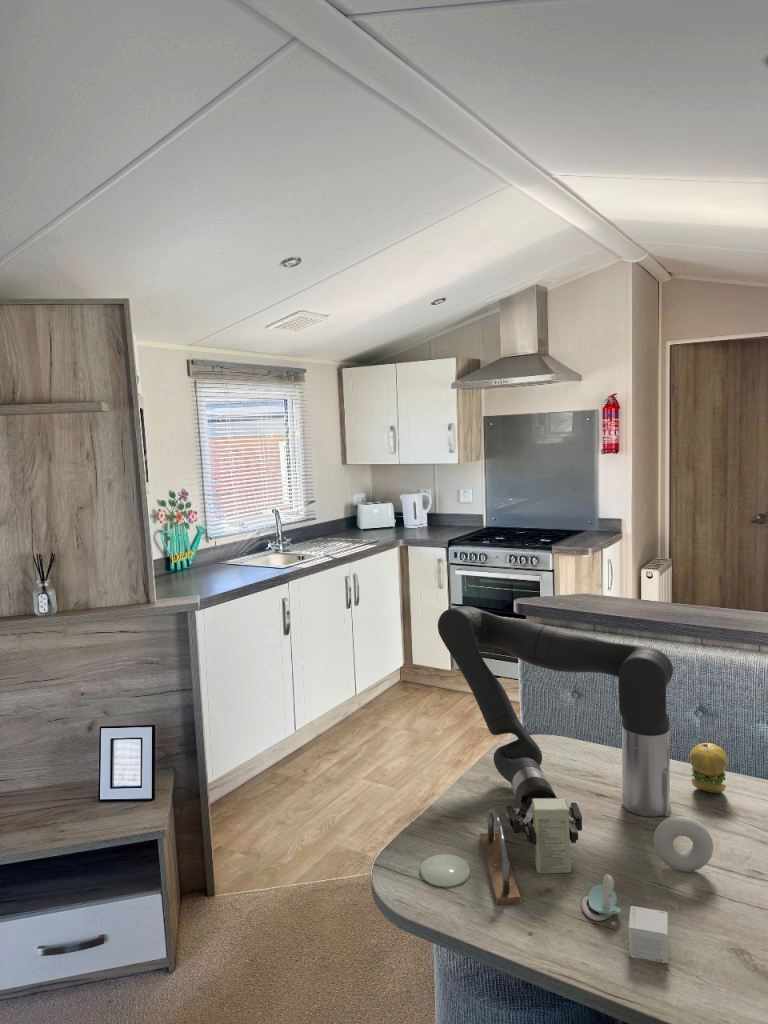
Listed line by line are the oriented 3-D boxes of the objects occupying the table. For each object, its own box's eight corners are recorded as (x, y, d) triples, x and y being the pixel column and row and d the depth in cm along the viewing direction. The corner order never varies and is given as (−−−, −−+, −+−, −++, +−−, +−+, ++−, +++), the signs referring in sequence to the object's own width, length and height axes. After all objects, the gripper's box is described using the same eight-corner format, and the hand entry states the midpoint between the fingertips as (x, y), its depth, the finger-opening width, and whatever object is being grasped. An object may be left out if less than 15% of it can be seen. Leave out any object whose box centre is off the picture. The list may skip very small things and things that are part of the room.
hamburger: (730, 789, 160) (730, 736, 159) (725, 805, 154) (726, 749, 153) (691, 782, 164) (692, 730, 163) (686, 796, 158) (686, 742, 157)
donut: (711, 867, 133) (712, 815, 132) (714, 879, 130) (715, 825, 129) (652, 861, 136) (652, 809, 135) (653, 872, 132) (653, 819, 131)
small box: (630, 933, 117) (630, 904, 117) (669, 940, 115) (669, 911, 115) (628, 957, 112) (628, 927, 111) (668, 966, 110) (668, 935, 109)
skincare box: (567, 859, 137) (567, 797, 136) (571, 873, 133) (570, 809, 131) (532, 859, 138) (531, 796, 136) (535, 873, 133) (533, 809, 132)
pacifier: (585, 925, 120) (623, 925, 119) (584, 889, 119) (622, 889, 118) (578, 896, 127) (614, 896, 126) (576, 862, 126) (613, 862, 125)
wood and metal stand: (479, 839, 145) (478, 791, 144) (499, 838, 145) (498, 790, 144) (497, 904, 125) (495, 849, 124) (520, 903, 125) (519, 848, 124)
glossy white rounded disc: (476, 863, 137) (476, 860, 137) (461, 891, 129) (461, 888, 129) (430, 853, 141) (430, 850, 141) (413, 880, 133) (413, 877, 133)
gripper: (497, 777, 148) (513, 821, 132) (569, 774, 148) (594, 817, 132) (498, 813, 149) (514, 861, 133) (569, 809, 149) (594, 857, 133)
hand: (554, 839), depth 132 cm, fingers closed on skincare box, 6 cm apart
